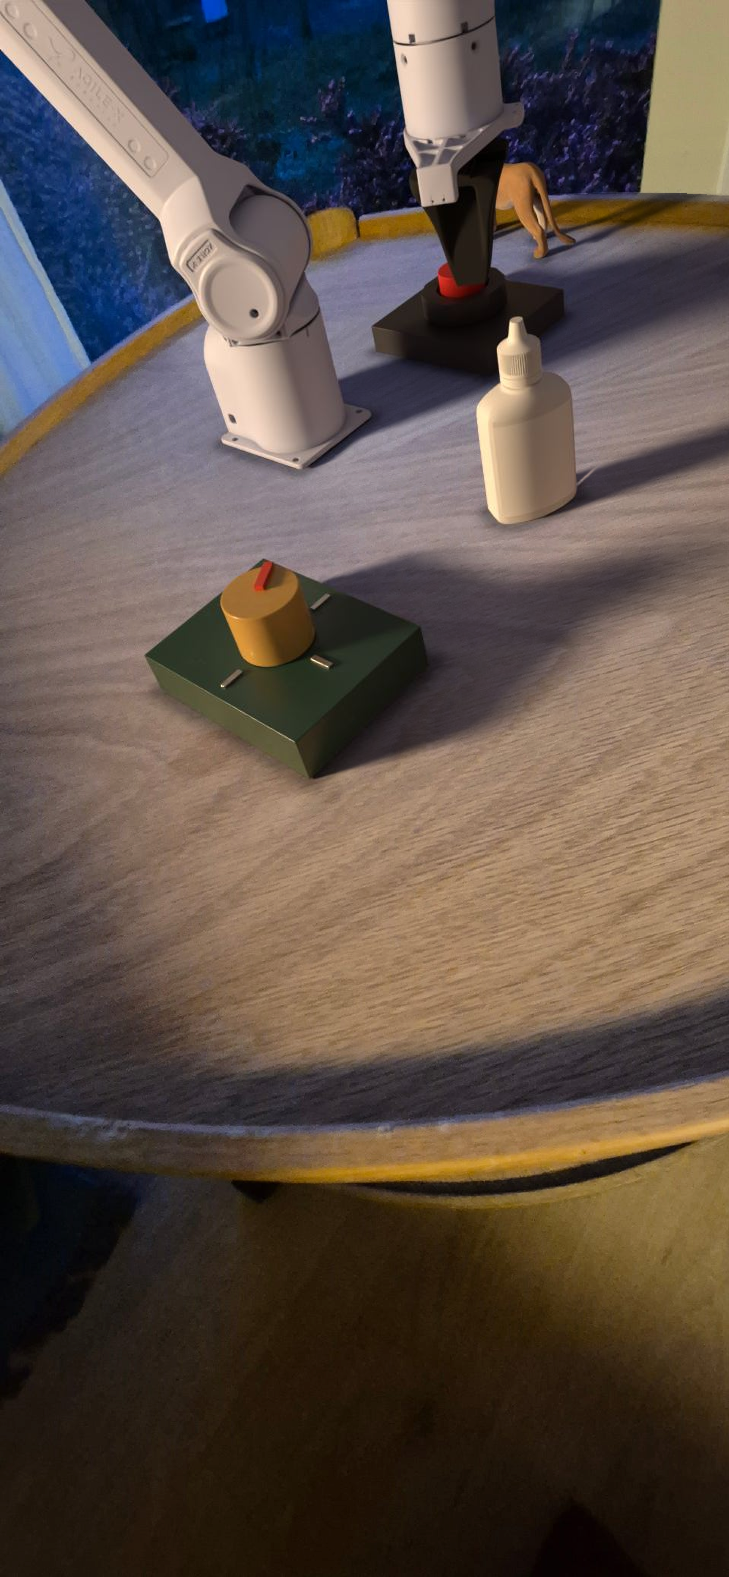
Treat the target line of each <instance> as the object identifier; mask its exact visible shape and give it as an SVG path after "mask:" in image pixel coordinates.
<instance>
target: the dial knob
mask: <svg viewBox="0 0 729 1577" xmlns="http://www.w3.org/2000/svg"><path fill="white" fill-rule="evenodd" d="M274 563H275V562H274V561H271V562H264V563H263V566H262V567H259V568H255V569H252V570H250V569H249V570H250V571H248V570H247V571H245V572H243V573H241V574H239V575H238V576H237V577H235V578H233V579H232V580H231V581H230V582H229V583H228V584H227V585H226V587H225V588H224V589H223V590H222V591H223V593H222V596H221V608H222V610H223V612H224V615H225V617H226V620H227V622H228V624H229V627H230V629H231V631H232V634H233V636H234V639H235V641H236V643H237V646H238V648H239V651H240V653H241V655H242V657H243V658H244V659H245V660H246V661H247V662H249V663H251V664H253V665H256V666H261V667H272V666H278V665H282V664H285V663H288V662H290V661H292V660H294V659H296V658H298V657H299V656H301V655H302V654H303V653H304V652H305V651H306V650H307V649H308V648H309V647H310V645H311V644H312V642H313V640H314V636H315V628H314V625H313V622H312V619H311V616H310V613H309V610H308V607H307V604H306V601H305V598H304V595H303V592H302V588H301V585H300V582H299V579H298V577H297V576H296V575H295V573H294V572H295V571H294V572H292V571H293V570H292V569H290V568H287V567H285V566H283V567H280V566H281V565H280V566H275V565H274ZM284 567H285V568H284ZM289 569H290V570H289ZM291 570H292V571H291Z"/></svg>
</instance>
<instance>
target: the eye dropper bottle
mask: <svg viewBox="0 0 729 1577" xmlns="http://www.w3.org/2000/svg"><path fill="white" fill-rule="evenodd" d="M541 346H542V345H541V340H540V339H539V337H538V338H537V337H536V336H534V335H531V334H527V332H526V329H525V326H524V322H523V319H522V317H514V318H512V319H511V320H510V325H509V335H508V338H506V339H504V340H503V341H502V342H501V343H500V344H499V345H498V347H497V354H498V364H499V370H498V371H499V373H498V374H499V381H500V382H499V383H497V384H496V385H495V386H493V388H492V389H490V390H489V391H488V392H487V393H486V394H485V395H484V396H483V397H481V400H480V401H479V402H478V404H477V406H476V423H477V432H478V440H479V448H480V457H481V464H482V471H483V480H484V488H485V495H486V503H487V508H488V511H489V512H490V514H492V516H493V517H494V518H495V519H496V520H497V522H499V523H500V524H501V525H502V524H503V525H513V524H520V523H524V522H528V521H532V520H537V519H539V518H542V517H545V516H547V515H549V514H551V513H554V512H556V511H557V510H559V509H561V508H562V507H564V506H565V505H566V504H568V503H570V501H571V500H573V499H574V497H575V496H576V494H577V490H578V489H577V488H578V486H577V485H578V484H577V463H576V444H575V443H576V442H575V424H574V423H575V422H574V406H573V394H572V390H571V386H570V385H569V383H568V382H567V381H566V380H565V378H563V377H562V376H561V375H559V374H557V373H555V372H553V371H552V372H551V371H543V364H542V348H541Z"/></svg>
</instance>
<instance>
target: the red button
mask: <svg viewBox="0 0 729 1577" xmlns="http://www.w3.org/2000/svg"><path fill="white" fill-rule="evenodd" d="M437 276H438V279H439V286H440V293H441V296H442V297H448V298H458V297H466V296H468V295H471V294H474V293H477V292H479V291H481V290H482V289H483V288H485V286H486V283H483V284H475V285H467V286H459V287H458V286H457V285H456V283H455V281H454V278H453V276H452V273H451V271H450V268H449V265H448V262H447V261H446V262H445V263H444V264H442V265H441V266H440V267H439V268H438V270H437Z"/></svg>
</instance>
